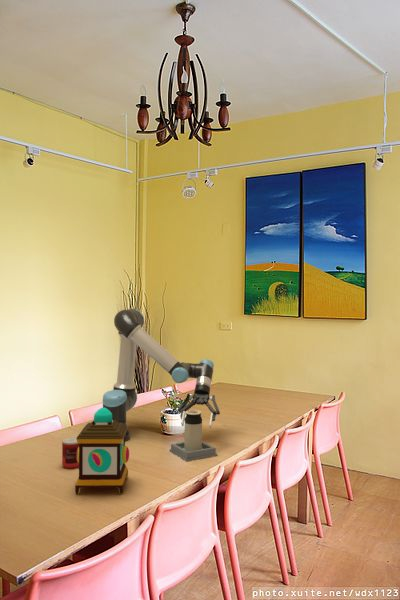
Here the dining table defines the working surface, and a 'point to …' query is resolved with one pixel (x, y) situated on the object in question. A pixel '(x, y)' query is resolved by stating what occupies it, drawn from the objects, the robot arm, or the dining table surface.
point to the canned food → (69, 453)
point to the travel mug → (193, 430)
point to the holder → (193, 455)
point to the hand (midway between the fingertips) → (196, 425)
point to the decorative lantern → (102, 453)
